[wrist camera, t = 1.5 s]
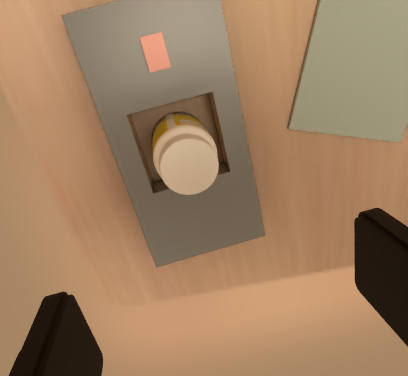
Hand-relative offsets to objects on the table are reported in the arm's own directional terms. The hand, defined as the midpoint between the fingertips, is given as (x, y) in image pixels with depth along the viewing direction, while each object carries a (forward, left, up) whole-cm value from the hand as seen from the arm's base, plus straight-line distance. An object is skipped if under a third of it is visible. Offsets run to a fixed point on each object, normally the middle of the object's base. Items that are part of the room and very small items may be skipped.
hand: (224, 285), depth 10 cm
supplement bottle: (0, 0, -20) cm, 20 cm away
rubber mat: (-16, -8, -20) cm, 27 cm away
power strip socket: (0, 0, -20) cm, 20 cm away
